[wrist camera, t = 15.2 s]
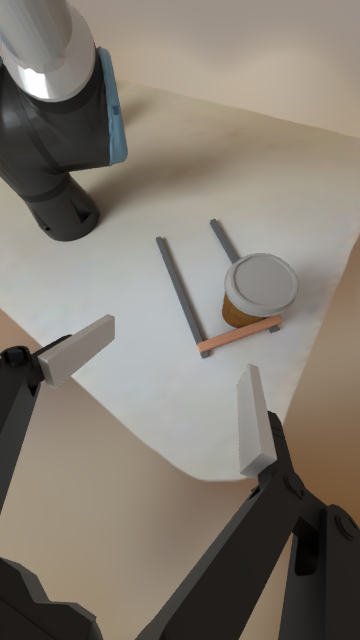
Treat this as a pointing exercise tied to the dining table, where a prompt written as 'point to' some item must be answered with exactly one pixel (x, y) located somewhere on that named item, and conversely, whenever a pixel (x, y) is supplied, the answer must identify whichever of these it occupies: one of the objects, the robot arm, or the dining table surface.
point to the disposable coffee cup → (258, 289)
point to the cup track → (202, 345)
